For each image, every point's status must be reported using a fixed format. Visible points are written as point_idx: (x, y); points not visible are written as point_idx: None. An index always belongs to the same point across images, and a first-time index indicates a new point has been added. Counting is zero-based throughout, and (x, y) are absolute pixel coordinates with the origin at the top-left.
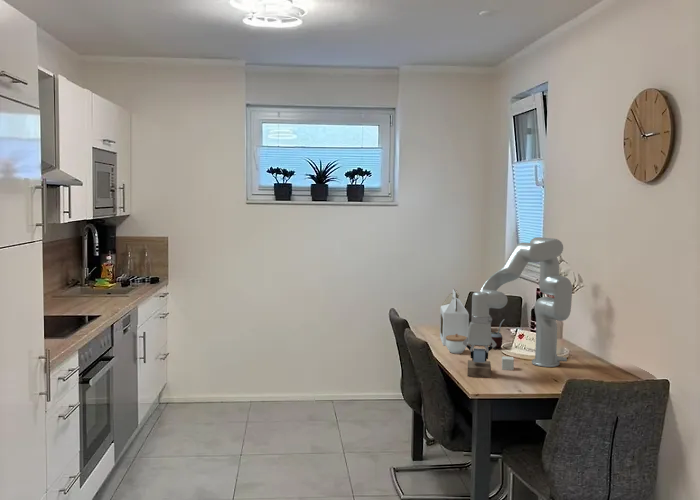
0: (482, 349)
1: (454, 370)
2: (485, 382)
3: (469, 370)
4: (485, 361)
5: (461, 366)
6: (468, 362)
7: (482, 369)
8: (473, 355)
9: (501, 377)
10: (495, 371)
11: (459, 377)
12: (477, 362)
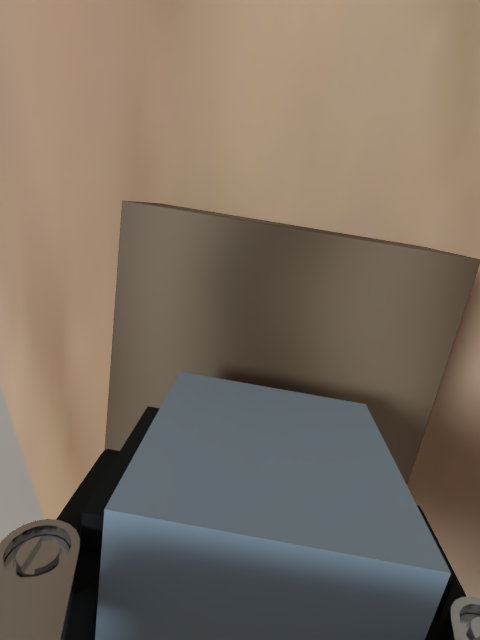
0: (347, 628)
1: (11, 279)
2: None
3: None
4: (396, 269)
5: (92, 80)
6: (122, 339)
7: None
8: None
9: (453, 517)
10: (471, 306)
11: (61, 511)
12: (254, 335)
